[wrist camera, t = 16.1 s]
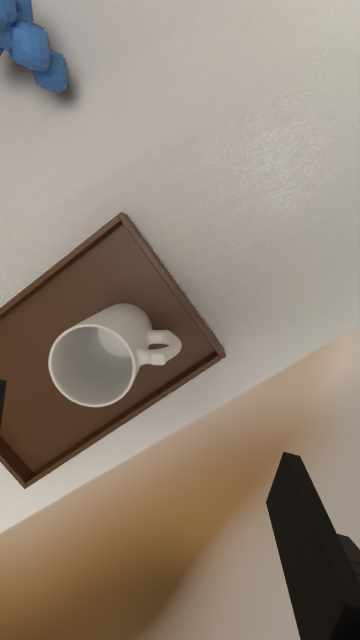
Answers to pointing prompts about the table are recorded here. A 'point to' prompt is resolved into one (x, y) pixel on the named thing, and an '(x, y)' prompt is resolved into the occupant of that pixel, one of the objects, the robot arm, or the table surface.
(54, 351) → the mug
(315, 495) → the robot arm
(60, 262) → the tray
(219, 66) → the table surface
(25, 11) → the blue sphere cluster
